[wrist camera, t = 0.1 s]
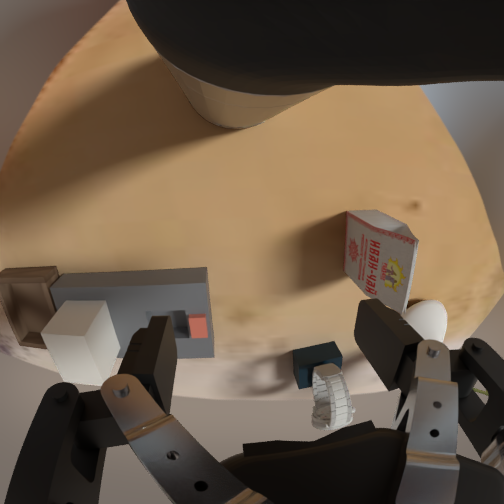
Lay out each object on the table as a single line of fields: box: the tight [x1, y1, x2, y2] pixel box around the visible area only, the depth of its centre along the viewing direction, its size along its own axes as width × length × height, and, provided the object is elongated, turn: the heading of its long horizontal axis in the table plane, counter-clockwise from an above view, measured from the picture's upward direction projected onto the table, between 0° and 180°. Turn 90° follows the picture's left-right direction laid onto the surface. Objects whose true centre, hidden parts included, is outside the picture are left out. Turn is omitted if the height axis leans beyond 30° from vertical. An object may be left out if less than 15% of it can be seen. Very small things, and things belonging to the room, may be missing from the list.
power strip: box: [50, 267, 214, 359], centre depth 28 cm, size 9×17×4 cm, turn 91°
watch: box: [293, 341, 355, 430], centre depth 30 cm, size 6×8×11 cm
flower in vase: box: [401, 300, 489, 396], centre depth 24 cm, size 13×11×25 cm
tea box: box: [343, 210, 419, 315], centre depth 25 cm, size 4×7×10 cm, turn 3°
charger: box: [41, 300, 120, 386], centre depth 24 cm, size 6×5×8 cm
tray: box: [0, 266, 59, 349], centre depth 27 cm, size 10×9×3 cm
